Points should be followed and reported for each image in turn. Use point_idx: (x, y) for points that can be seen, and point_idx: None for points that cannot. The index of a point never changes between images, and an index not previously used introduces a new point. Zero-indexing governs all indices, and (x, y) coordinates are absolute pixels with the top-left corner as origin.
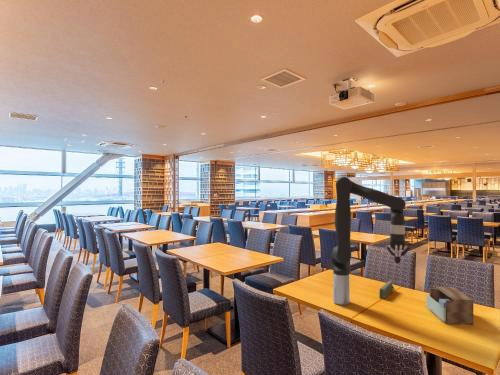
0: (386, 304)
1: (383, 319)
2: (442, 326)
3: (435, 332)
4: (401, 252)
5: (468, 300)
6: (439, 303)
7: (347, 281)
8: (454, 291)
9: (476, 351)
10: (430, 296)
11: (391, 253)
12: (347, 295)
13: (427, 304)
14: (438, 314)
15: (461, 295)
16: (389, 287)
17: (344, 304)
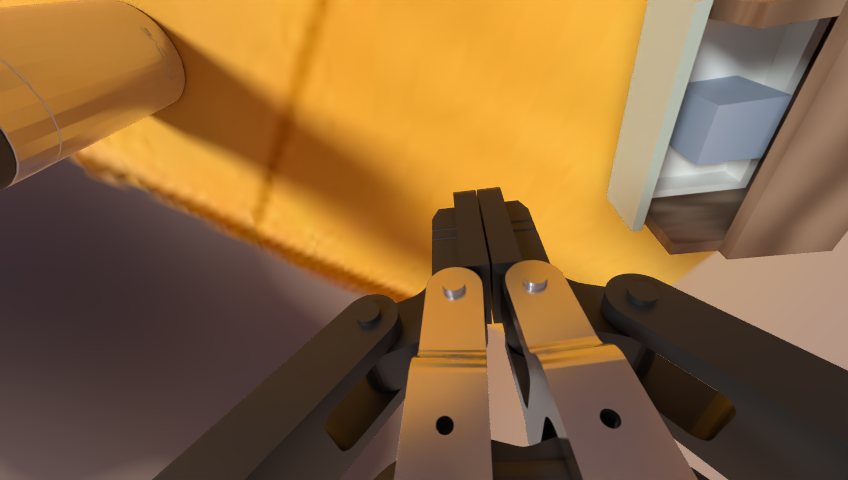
0: (393, 6)
1: (369, 211)
2: (581, 215)
3: None
4: (655, 343)
5: (798, 251)
6: (697, 104)
7: (67, 145)
8: None
9: None
10: (714, 19)
11: (354, 400)
12: (147, 109)
13: (654, 19)
14: (620, 160)
15: (844, 193)
16: None
17: (170, 104)
